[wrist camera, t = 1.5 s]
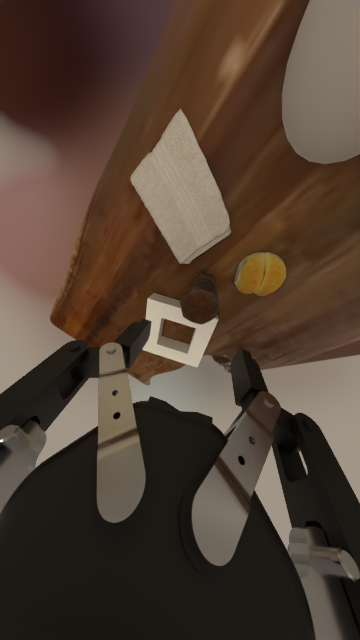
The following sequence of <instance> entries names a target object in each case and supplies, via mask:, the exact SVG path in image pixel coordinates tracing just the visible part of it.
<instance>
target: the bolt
mask: <svg viewBox="0 0 360 640" xmlns="http://www.w3.org/2000/svg"><path fill="white" fill-rule="evenodd" d="M180 305H181V311H182V315H183V317H184V318H186V319H187V320H189V321H191V322H193V323H196V324H201V325H202V324H205V323H207V322H209V321H211V320H212V319H214V318H215V317H216V316H218V315H219V311H218V295H217V292H216V291H215V281H214V277H212V276H210V275H207V274H205V273H202V274H200V275H199V276H198V277H196V278H195V279H194V280H193V281H192V288H191V289H190V290H188V291H187V292H186V293H185V294H183V295H182V296H181V297H180Z"/></svg>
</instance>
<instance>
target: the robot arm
mask: <svg viewBox="0 0 360 640" xmlns="http://www.w3.org/2000/svg"><path fill="white" fill-rule="evenodd" d="M151 323H152V322H151V321H149V320H146V319H142V320H141V321H140V322H139V323H137V322H135V323H133V324H131V325H130V326H129V327H128V328H127V329H126V330H125V331H124V332H123V333H122V334H121V335H120V336H119V337H118V338H117V339H116V340H115V341H114V342H113V343H107V344H105V345H103V346H102V347H88V345H87V343H86V342H85V341H82V340H75V341H71V342H68V343H66V344H65V345H64V346H62V347H61V348H60V349H58V350H57V351H56V352H54V353H53V354H52V355H51V356H49V357H48V358H47V359H45V360H44V361H43V362H41V363H40V364H39V365H38V366H36V367H35V368H34V369H32V370H31V371H30V372H29V373H27V374H26V375H25V376H23V377H22V378H21V379H19V380H18V381H17V382H15V383H14V384H13V385H12V386H10V387H9V388H8V389H7V390H5V391H4V392H3V393H1V394H0V640H360V503H359V501H358V499H357V497H356V495H355V493H354V491H353V490H352V488H351V486H350V484H349V482H348V480H347V478H346V476H345V475H344V473H343V471H342V469H341V467H340V465H339V463H338V461H337V459H336V457H335V456H334V454H333V452H332V450H331V448H330V446H329V444H328V442H327V441H326V439H325V437H324V435H323V433H322V431H321V429H320V428H319V426H318V425H317V424H316V423H315V422H314V421H313V420H312V419H311V418H310V417H308V416H307V415H305V414H303V413H297V414H295V415H292V414H291V413H289V412H287V411H286V410H284V409H283V408H281V406H280V404H279V402H278V401H277V400H276V398H275V397H274V396H273V395H271V394H270V393H269V392H268V390H267V387H266V385H265V382H264V379H263V377H262V373H261V371H260V368H259V365H258V364H257V362H256V361H255V360H254V359H252V357H251V354H250V352H249V351H245V350H242V349H239V350H238V352H237V353H236V355H235V357H234V358H233V360H232V362H231V375H232V382H233V389H234V396H235V402H236V405H238V406H241V407H242V411H241V412H240V413H239V415H238V416H237V417H236V419H235V420H234V421H233V423H232V424H231V426H230V427H229V429H228V430H227V431H226V432H225V434H223V433H222V432H221V431H220V430H219V429H218V428H217V427H216V426H215V425H214V424H212V417H209V416H206V415H203V414H201V413H198V412H182V411H179V410H177V409H176V408H174V407H173V406H171V405H170V404H168V403H167V402H165V401H163V400H160V399H157V398H154V397H151V396H150V398H149V401H140V402H136V403H132V398H131V392H130V386H129V380H128V374H127V370H126V369H125V367H126V368H129V369H130V367H131V366H132V364H133V363H134V361H135V360H136V358H137V357H138V355H139V353H140V352H141V350H142V349H143V347H144V346H145V344H146V343H147V341H148V339H149V336H150V331H151ZM88 378H98V381H99V382H98V384H99V385H98V426H97V427H95V428H94V429H92V430H91V431H89V432H88V433H86V434H85V435H83V436H82V437H80V438H79V439H77V440H76V441H74V442H73V443H71V444H70V445H68V446H67V447H65V448H63V449H62V450H60V451H59V452H57V453H56V454H54V455H53V456H51V457H50V458H48V459H47V460H45V461H44V462H42V463H41V464H40V465H39V466H37V467H36V468H35V464H36V460H37V458H38V455H39V454H40V452H41V451H42V449H43V447H44V445H45V443H46V434H45V431H46V430H47V429H48V427H49V426H50V425H51V424H52V423H53V421H54V420H55V419H56V418H57V416H58V415H59V414H60V412H62V410H63V409H64V408H65V407H66V405H67V404H68V403H69V402H70V400H71V399H72V398H73V397H74V396H75V394H76V393H77V392H78V391H79V389H80V388H81V387H82V386H83V384H84V383H85V382H86V381H87V380H88ZM271 445H272V448H273V452H274V456H275V460H276V464H277V468H278V473H279V476H280V480H281V484H282V489H283V493H284V497H285V501H286V505H287V509H288V513H289V518H290V522H291V525H292V530H291V531H290V535H289V543H290V544H289V545H288V551H287V549H286V548H285V546H284V544H283V542H282V540H281V538H280V536H279V535H278V533H277V531H276V529H275V527H274V526H273V524H272V522H271V520H270V518H269V516H268V514H267V512H266V511H265V509H264V507H263V505H262V503H261V501H260V500H259V498H258V496H257V494H256V492H255V490H254V489H255V486H256V484H257V481H258V479H259V476H260V473H261V471H262V468H263V466H264V463H265V461H266V458H267V456H268V453H269V451H270V448H271ZM299 451H301V453H302V455H303V458H304V460H305V463H306V466H307V469H308V475H307V474H306V471H305V469H304V466H303V463H302V461H301V458H300V455H299Z"/></svg>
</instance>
